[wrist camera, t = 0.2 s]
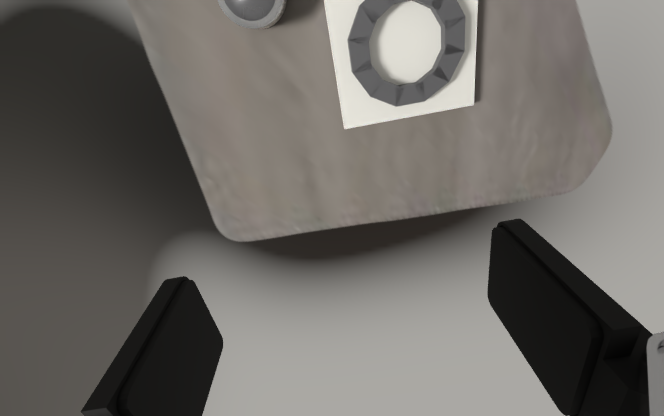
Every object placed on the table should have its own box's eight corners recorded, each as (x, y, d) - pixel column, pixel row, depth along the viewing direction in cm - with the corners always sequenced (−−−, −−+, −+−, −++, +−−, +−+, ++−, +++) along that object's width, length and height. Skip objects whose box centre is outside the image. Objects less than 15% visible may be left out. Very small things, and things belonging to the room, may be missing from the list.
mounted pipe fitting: (319, -26, 31) (319, -30, 29) (474, -58, 30) (486, -65, 28) (343, 126, 38) (345, 131, 36) (469, 103, 37) (478, 107, 35)
